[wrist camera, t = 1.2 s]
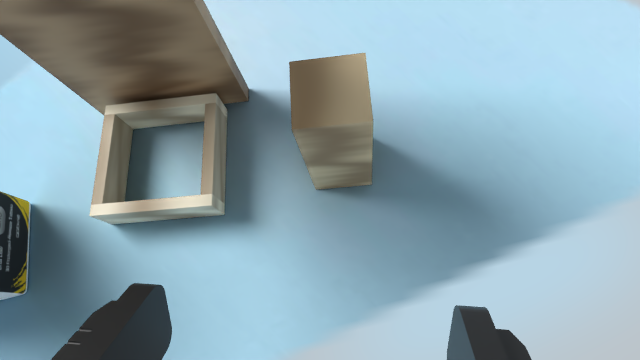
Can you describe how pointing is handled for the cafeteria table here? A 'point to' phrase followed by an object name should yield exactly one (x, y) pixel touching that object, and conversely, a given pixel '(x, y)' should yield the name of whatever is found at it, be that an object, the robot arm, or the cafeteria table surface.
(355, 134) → the peg
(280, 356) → the cafeteria table surface
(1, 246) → the medicine bottle
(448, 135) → the cafeteria table surface
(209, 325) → the cafeteria table surface
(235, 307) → the cafeteria table surface
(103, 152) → the awning socket
